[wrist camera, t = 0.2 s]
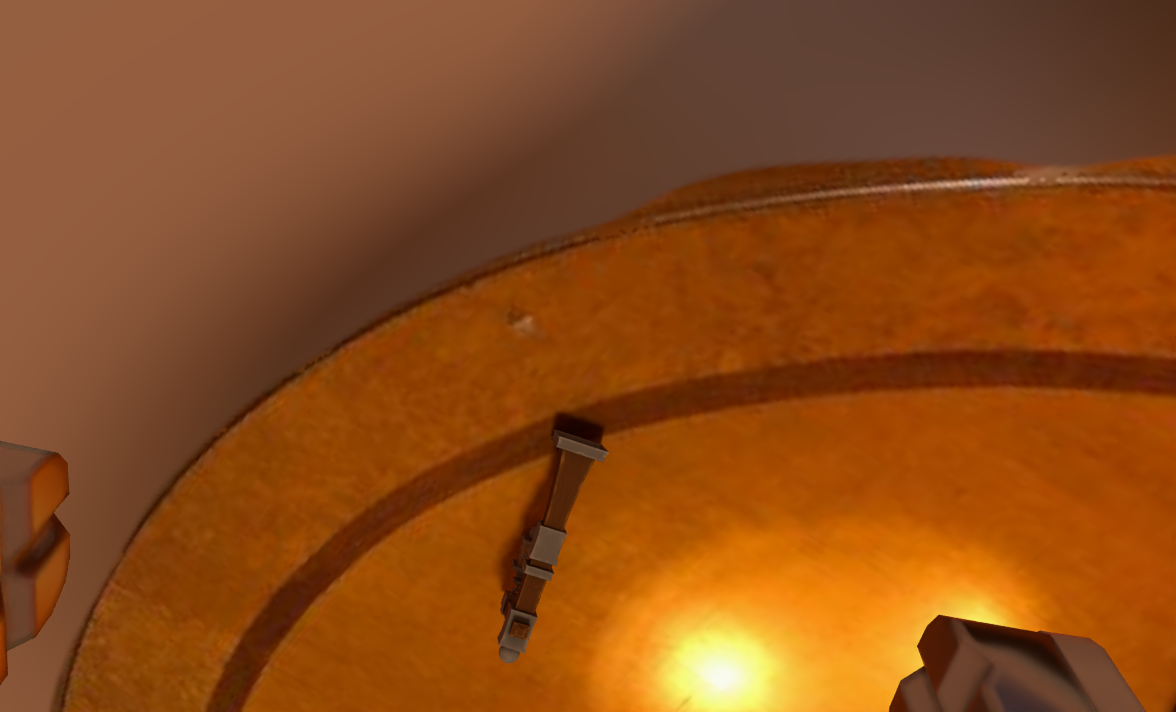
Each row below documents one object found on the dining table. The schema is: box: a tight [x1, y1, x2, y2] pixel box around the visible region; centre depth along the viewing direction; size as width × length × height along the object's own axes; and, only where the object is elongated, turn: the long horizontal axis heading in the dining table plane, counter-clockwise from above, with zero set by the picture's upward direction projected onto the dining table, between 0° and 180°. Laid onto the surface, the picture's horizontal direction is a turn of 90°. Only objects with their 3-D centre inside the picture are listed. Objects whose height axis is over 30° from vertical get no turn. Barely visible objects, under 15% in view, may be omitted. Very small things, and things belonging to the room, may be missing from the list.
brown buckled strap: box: [498, 429, 609, 663], centre depth 35 cm, size 2×8×4 cm, turn 160°
